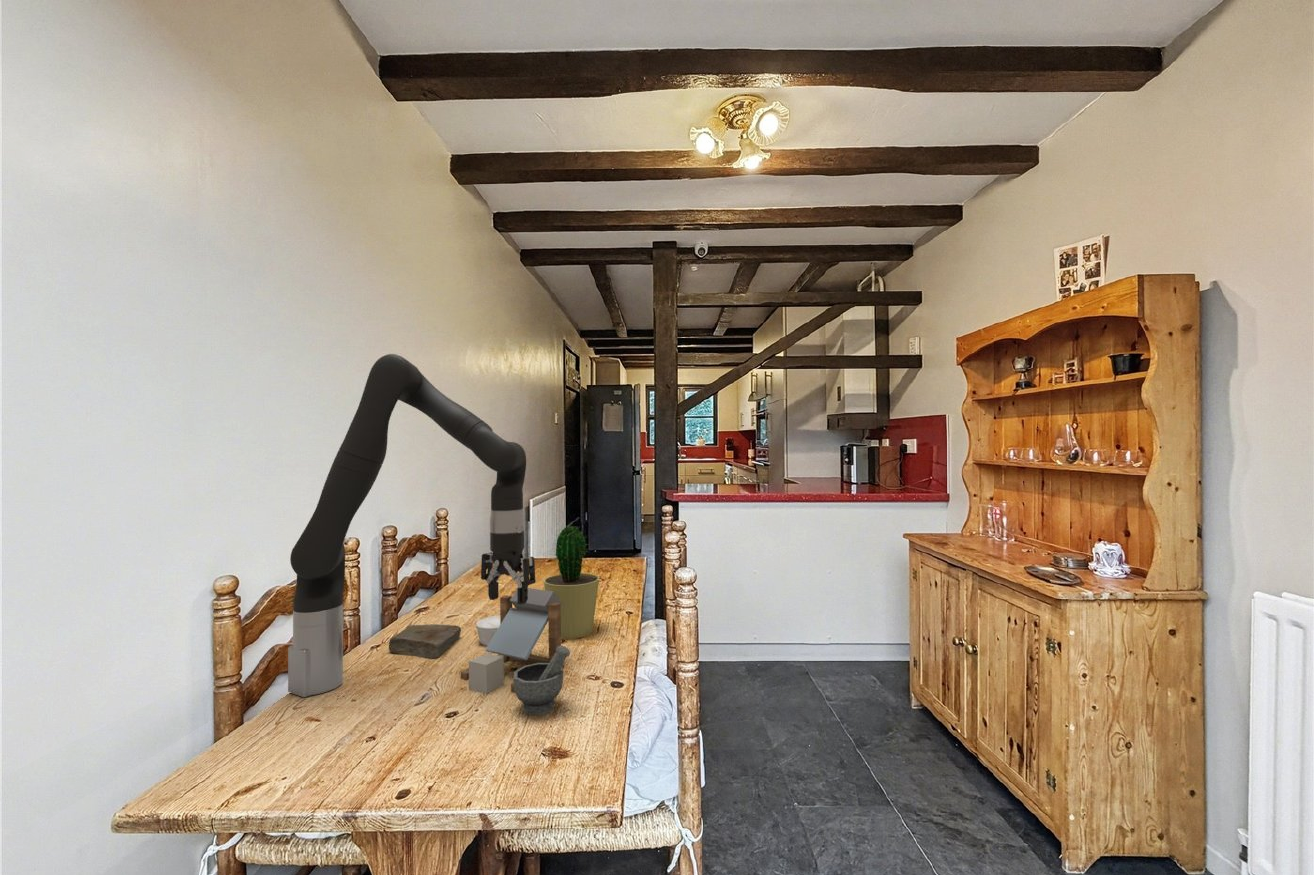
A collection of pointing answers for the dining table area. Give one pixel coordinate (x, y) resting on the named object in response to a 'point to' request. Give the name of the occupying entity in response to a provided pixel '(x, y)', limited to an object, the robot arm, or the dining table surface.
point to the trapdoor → (523, 625)
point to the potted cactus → (573, 585)
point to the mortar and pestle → (540, 683)
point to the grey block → (486, 673)
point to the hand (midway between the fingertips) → (507, 601)
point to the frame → (554, 635)
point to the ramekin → (487, 628)
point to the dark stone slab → (425, 640)
